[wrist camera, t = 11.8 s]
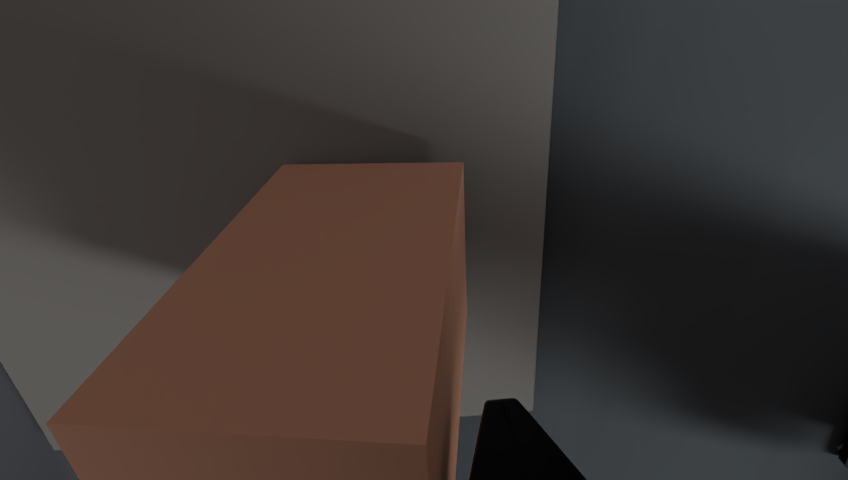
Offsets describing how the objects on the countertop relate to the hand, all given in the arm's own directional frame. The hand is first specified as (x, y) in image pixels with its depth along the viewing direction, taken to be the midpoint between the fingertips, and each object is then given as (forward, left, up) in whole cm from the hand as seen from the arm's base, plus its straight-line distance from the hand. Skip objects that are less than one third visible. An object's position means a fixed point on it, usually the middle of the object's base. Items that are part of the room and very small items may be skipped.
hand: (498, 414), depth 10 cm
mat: (+6, 0, -8) cm, 10 cm away
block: (+2, 0, -7) cm, 7 cm away
